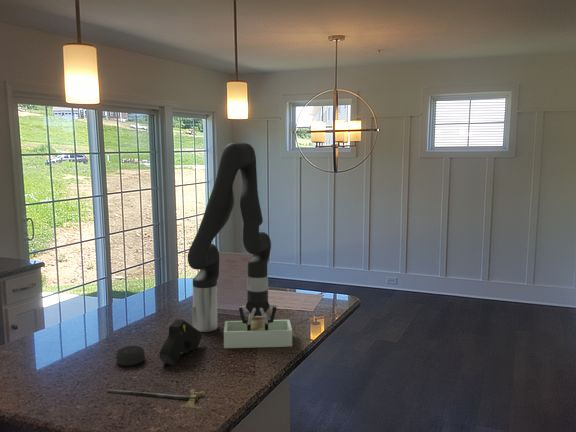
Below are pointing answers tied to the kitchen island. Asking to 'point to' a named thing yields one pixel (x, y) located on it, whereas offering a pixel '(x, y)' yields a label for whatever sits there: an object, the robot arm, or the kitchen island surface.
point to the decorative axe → (165, 396)
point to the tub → (257, 335)
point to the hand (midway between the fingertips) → (257, 333)
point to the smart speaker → (130, 355)
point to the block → (257, 323)
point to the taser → (179, 341)
